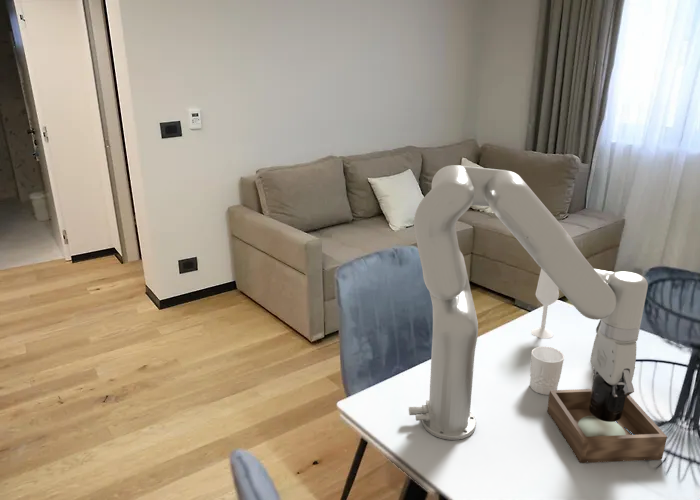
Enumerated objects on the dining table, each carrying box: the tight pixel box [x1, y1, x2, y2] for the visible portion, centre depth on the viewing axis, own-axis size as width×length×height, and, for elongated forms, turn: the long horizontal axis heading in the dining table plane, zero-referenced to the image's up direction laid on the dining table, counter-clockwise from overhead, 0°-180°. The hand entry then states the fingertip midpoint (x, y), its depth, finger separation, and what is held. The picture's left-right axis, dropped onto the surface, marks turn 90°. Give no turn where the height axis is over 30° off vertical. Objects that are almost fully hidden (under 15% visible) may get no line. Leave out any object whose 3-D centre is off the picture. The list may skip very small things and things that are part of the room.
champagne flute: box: [530, 267, 560, 339], centre depth 167 cm, size 7×7×24 cm
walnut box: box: [546, 388, 668, 464], centre depth 125 cm, size 18×18×6 cm
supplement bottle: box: [589, 373, 623, 422], centre depth 122 cm, size 7×7×12 cm
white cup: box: [529, 346, 565, 396], centre depth 142 cm, size 8×8×10 cm
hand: (606, 399), depth 123 cm, fingers closed on supplement bottle, 6 cm apart
